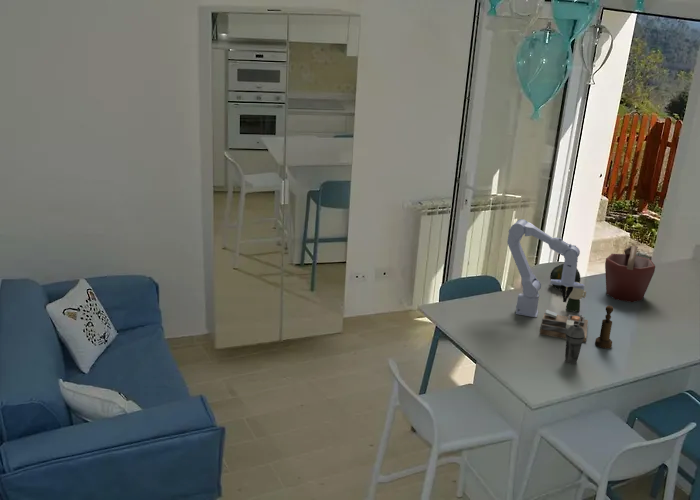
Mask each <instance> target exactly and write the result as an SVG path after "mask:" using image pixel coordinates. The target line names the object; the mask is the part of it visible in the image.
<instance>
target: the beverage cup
mask: <svg viewBox="0 0 700 500" xmlns="http://www.w3.org/2000/svg"><path fill="white" fill-rule="evenodd" d="M579 316H580V319H579V323H578V325H572V326H570V327H569V328H568V329H567V331H566V339H565V353H564V358H565V359H564V361H565V362H566V363H567V364H570V365H576V364H577V363H578V360H579V356H580V352H581V350H582V349H581V348H582V345H583V343H584V342H583V340H584V338H585V334H584V330H583V329H582V327H580V326H579V324H580V320H581V317H583V316H582V314H580V315H579Z"/></svg>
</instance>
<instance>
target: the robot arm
mask: <svg viewBox="0 0 700 500" xmlns="http://www.w3.org/2000/svg"><path fill="white" fill-rule="evenodd" d="M523 236H524V237H534V238H536V239H538V240H539V241H541V242H544V243H545V244H548V246H549V249H550V250H552V251H554V252H555V253H558V254H559V255H561V256H563V257H564V262H563V264H564V265H563V272H562V278H561V280H554V279H551V280H550V283H549V284H550V285H551V286H552V285H553V284H554V285H560V286H561V290H560V291H561V295H562V302H563V303H567V302H568V299H569V295H570V293H571V292H572V291H573V288H579V289H582V290H584V291H585V283H582V282H580V283H577V282H575V276H576V269H578V259H579V256H580V254H581V251H580V248H579V247H578V246H577V245H574V244H573V245H572V244H571V243H568V242H566V241H565V240H563V237H557V236H555V237H553V236H551V235H549V234H548V233H546V232H545V231H543V230H541V229H540V228H539V227H537V226H536V225H534V224H533V223H532V222H529V221H527V220H526V219H524V218H521V219H518V220H517V221H516V222H515V223H513V224H512V225H511V226H510V227H509V229H508V236H507V240H506V242H507V245H508V247H509V250H510V252H511V256H512V258H513V261H514V263H515V266H516V267H517V270H518V272H519V274H520V277H521V285H522V293H521V292H520V293H518V296H517V301H516V305H515V315H518V316H519V315H520V316H525V317H530V318H531V317H532V318H537V317H538V314H539V310H538V306H539V301H540V300H539V299H540V295H539V291H540V290H541V287H542V283H541V281H540V280H539V279H538V278H537V277H536V275H535V274H534V273H533V271H532V269H531V267H530V264H529V261H528V259H527V257H526V254H525V252H524V250H523V247H522V245H521V244H522V243H521V240H522V238H523ZM581 283H582V284H581ZM566 287H567V291H566Z"/></svg>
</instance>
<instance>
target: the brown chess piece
mask: <svg viewBox="0 0 700 500" xmlns="http://www.w3.org/2000/svg"><path fill="white" fill-rule="evenodd" d="M613 311H614V307H613V305H611V304H610V305H606V307H605V312H606V314H605V319H602V322H601V325H600V332H599V333H600V334H599V336H598V337H596V338H595V340H594V345H595V346H596V347H598V348H600V349H606V350H607V349H611V348H612V346H613V341H612V340H611V338H610V336H611V331H612V325H613V321H612V320H611V318H612V316H611V314H612V313H613Z"/></svg>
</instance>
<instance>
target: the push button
mask: <svg viewBox="0 0 700 500" xmlns="http://www.w3.org/2000/svg"><path fill="white" fill-rule="evenodd" d="M578 316H579V315H575V316H572V319H571V320H574V321H579V319H580V317H578ZM580 322H581V320H580Z"/></svg>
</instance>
